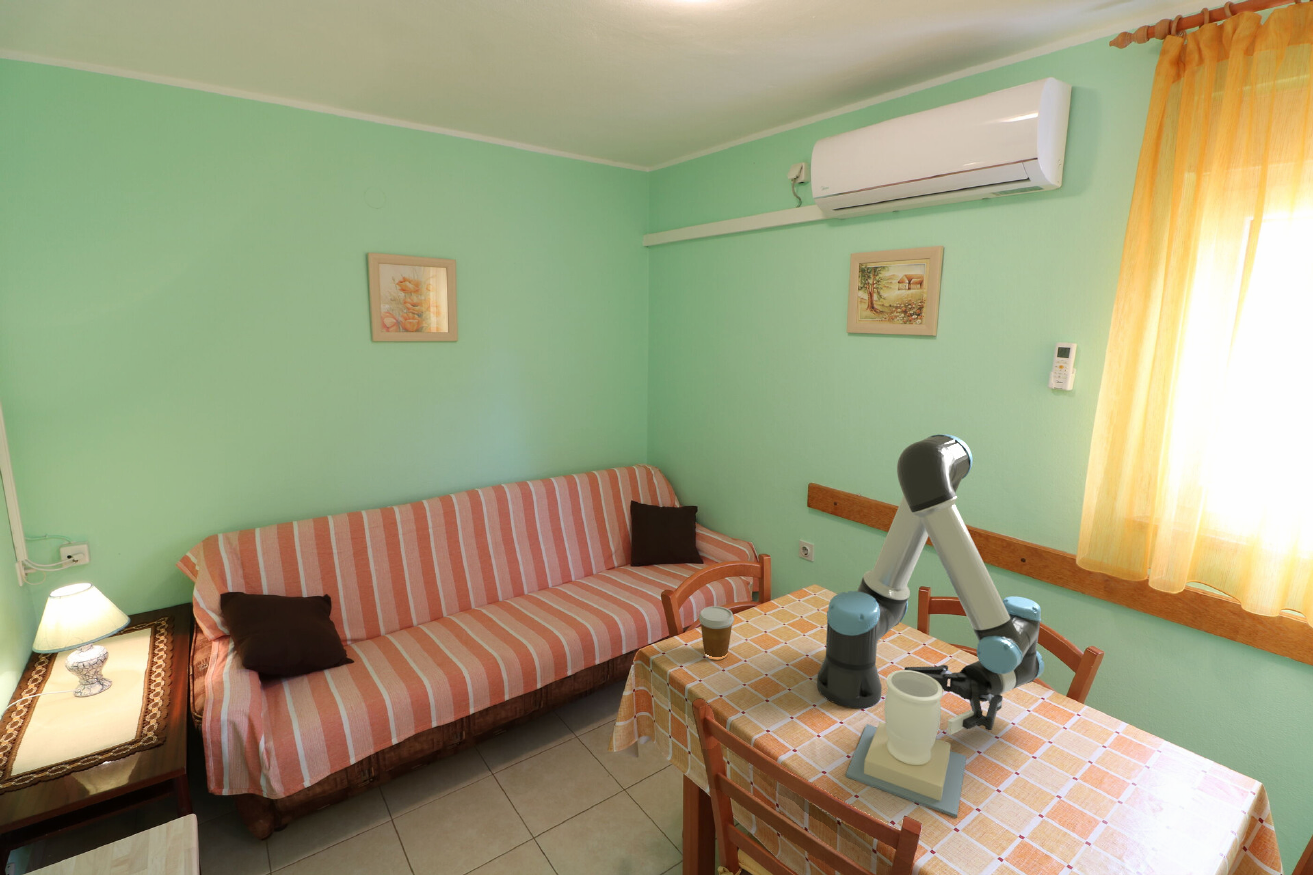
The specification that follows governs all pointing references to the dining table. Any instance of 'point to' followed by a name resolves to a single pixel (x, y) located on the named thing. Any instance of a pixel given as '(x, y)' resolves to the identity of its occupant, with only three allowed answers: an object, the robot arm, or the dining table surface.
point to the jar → (912, 715)
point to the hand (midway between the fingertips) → (919, 707)
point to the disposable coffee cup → (716, 630)
